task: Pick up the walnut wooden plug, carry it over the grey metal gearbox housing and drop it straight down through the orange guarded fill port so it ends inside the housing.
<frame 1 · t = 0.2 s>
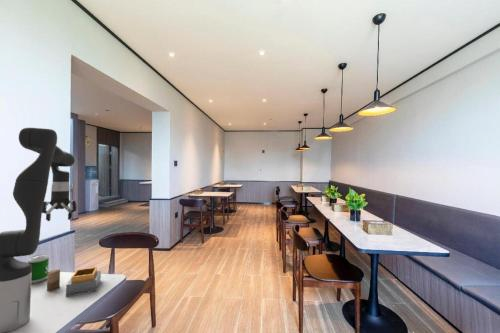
hand: (59, 220, 119), 28 cm above the table, fingers open, 8 cm apart
soda can: (37, 280, 111), on the table
gearbox housing: (84, 288, 104), on the table
walnut plug: (53, 288, 103), on the table
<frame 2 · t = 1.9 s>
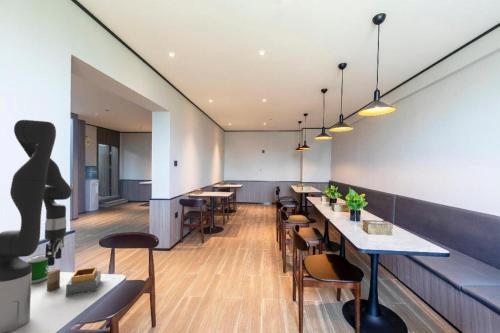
hand: (54, 261, 104), 12 cm above the table, fingers open, 8 cm apart
nothing on the table moved.
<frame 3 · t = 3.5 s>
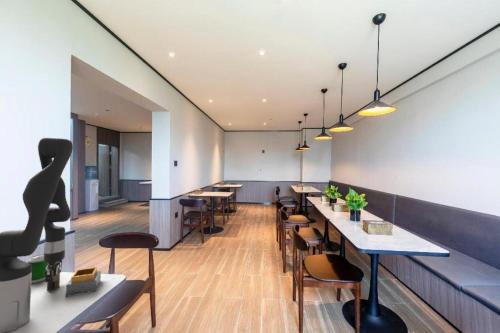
hand: (53, 286, 103), 1 cm above the table, fingers closed on walnut plug, 4 cm apart
walnut plug: (53, 288, 103), on the table, touching gripper
everything else where it was.
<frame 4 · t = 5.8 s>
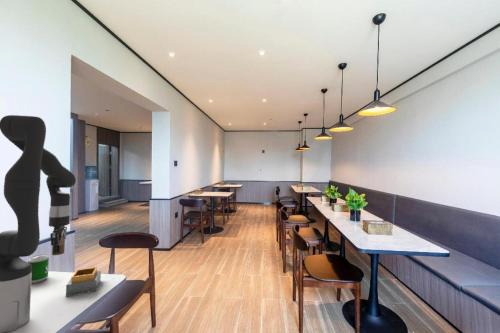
hand: (58, 251, 104), 17 cm above the table, fingers closed on walnut plug, 4 cm apart
walnut plug: (58, 253, 103), point 16 cm above the table, touching gripper
everything else where it was.
when the fingers open (9 cm above the table, at t = 8.5 s): walnut plug drops 8 cm, resting in gearbox housing.
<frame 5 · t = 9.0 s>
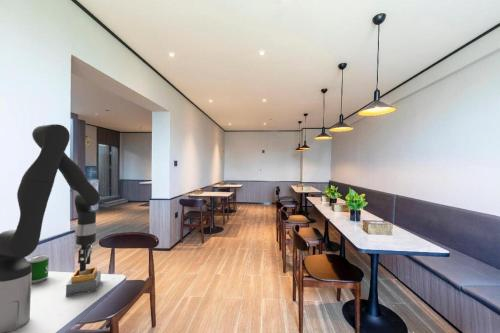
hand: (85, 267, 104), 10 cm above the table, fingers open, 8 cm apart
walnut plug: (84, 288, 104), resting in gearbox housing
everything else where it was.
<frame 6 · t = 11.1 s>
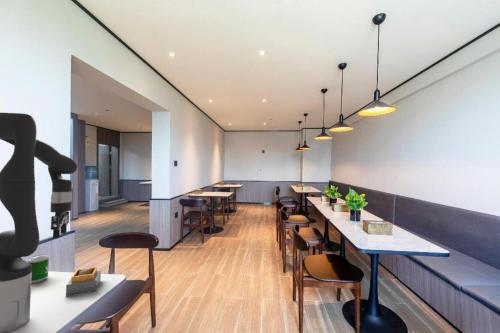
hand: (59, 235, 104), 24 cm above the table, fingers open, 8 cm apart
nothing on the table moved.
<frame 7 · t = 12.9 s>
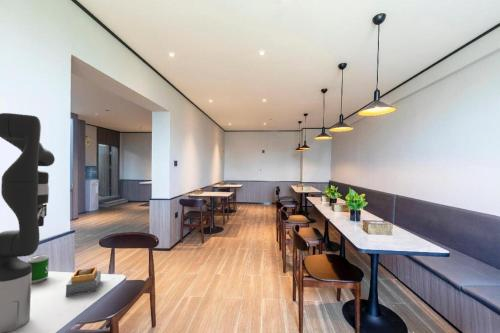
hand: (36, 228, 103), 28 cm above the table, fingers open, 8 cm apart
nothing on the table moved.
at the end: walnut plug 0.1 cm off-centre on the gearbox housing, point 0.0 cm above the gearbox housing's base; the gripper is holding nothing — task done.
